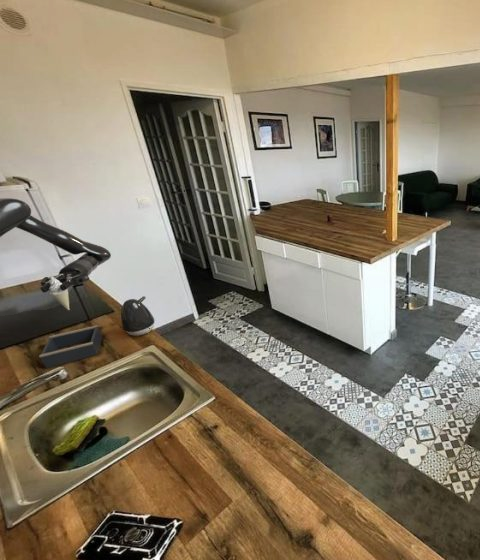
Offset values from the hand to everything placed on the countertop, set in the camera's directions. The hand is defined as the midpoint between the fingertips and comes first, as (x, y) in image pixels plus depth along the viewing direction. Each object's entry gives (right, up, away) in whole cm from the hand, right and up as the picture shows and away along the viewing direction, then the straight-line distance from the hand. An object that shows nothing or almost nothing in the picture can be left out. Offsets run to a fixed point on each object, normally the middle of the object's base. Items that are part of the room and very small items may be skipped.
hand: (52, 289), depth 114 cm
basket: (+7, -23, +1) cm, 24 cm away
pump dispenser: (+23, -18, +13) cm, 32 cm away
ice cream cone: (-1, -8, +7) cm, 11 cm away
